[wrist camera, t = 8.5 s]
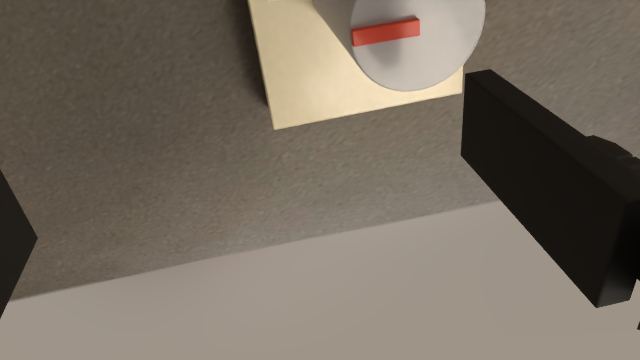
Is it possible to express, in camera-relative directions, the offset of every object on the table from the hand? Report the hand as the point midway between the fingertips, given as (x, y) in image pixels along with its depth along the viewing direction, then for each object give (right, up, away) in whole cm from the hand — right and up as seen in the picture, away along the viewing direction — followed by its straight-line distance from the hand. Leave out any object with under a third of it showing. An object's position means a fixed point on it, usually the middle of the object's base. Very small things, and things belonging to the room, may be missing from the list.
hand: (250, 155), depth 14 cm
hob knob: (+4, +9, +10) cm, 14 cm away
